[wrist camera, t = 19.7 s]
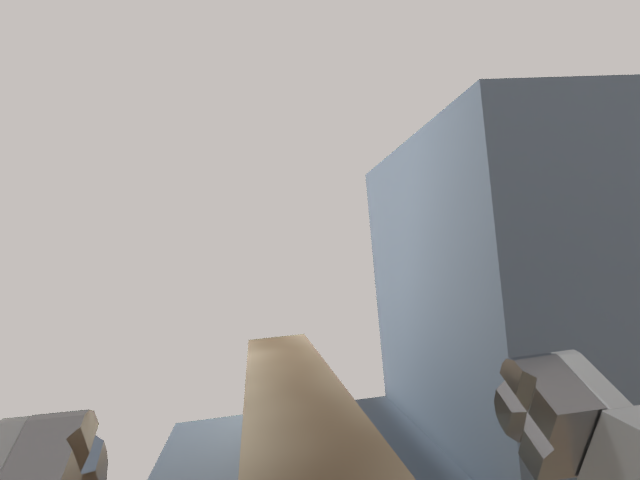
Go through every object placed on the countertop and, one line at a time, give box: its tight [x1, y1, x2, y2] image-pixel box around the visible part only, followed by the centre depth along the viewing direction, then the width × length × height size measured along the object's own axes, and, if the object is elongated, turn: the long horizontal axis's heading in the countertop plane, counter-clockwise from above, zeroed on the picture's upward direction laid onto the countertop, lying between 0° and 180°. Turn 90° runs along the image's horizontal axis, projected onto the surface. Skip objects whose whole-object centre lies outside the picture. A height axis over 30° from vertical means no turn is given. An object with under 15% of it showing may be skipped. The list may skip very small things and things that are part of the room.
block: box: [238, 334, 416, 480], centre depth 14 cm, size 3×22×3 cm, turn 8°
